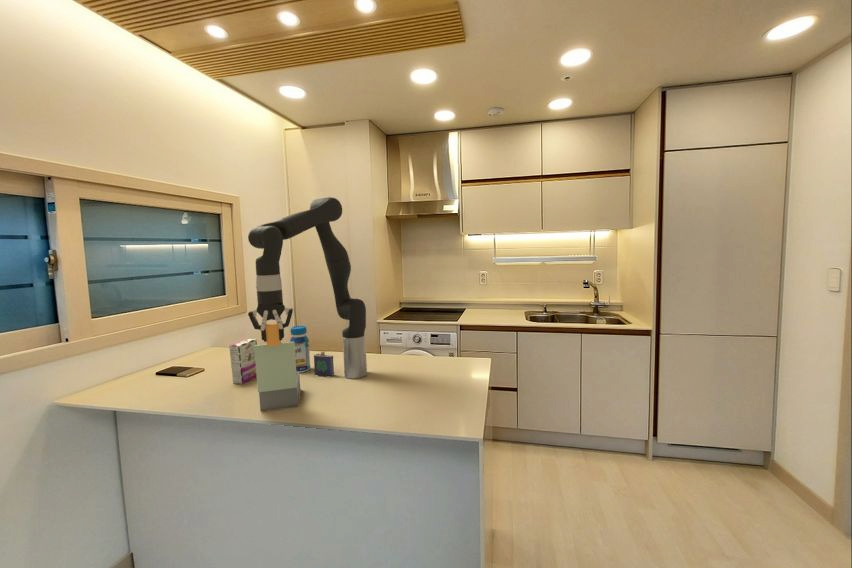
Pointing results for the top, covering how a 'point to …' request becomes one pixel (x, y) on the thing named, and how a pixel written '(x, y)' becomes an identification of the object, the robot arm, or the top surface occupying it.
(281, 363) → the lid
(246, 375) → the candy bar box
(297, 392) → the tub
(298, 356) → the beverage bottle
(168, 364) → the top surface
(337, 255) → the robot arm
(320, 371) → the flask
